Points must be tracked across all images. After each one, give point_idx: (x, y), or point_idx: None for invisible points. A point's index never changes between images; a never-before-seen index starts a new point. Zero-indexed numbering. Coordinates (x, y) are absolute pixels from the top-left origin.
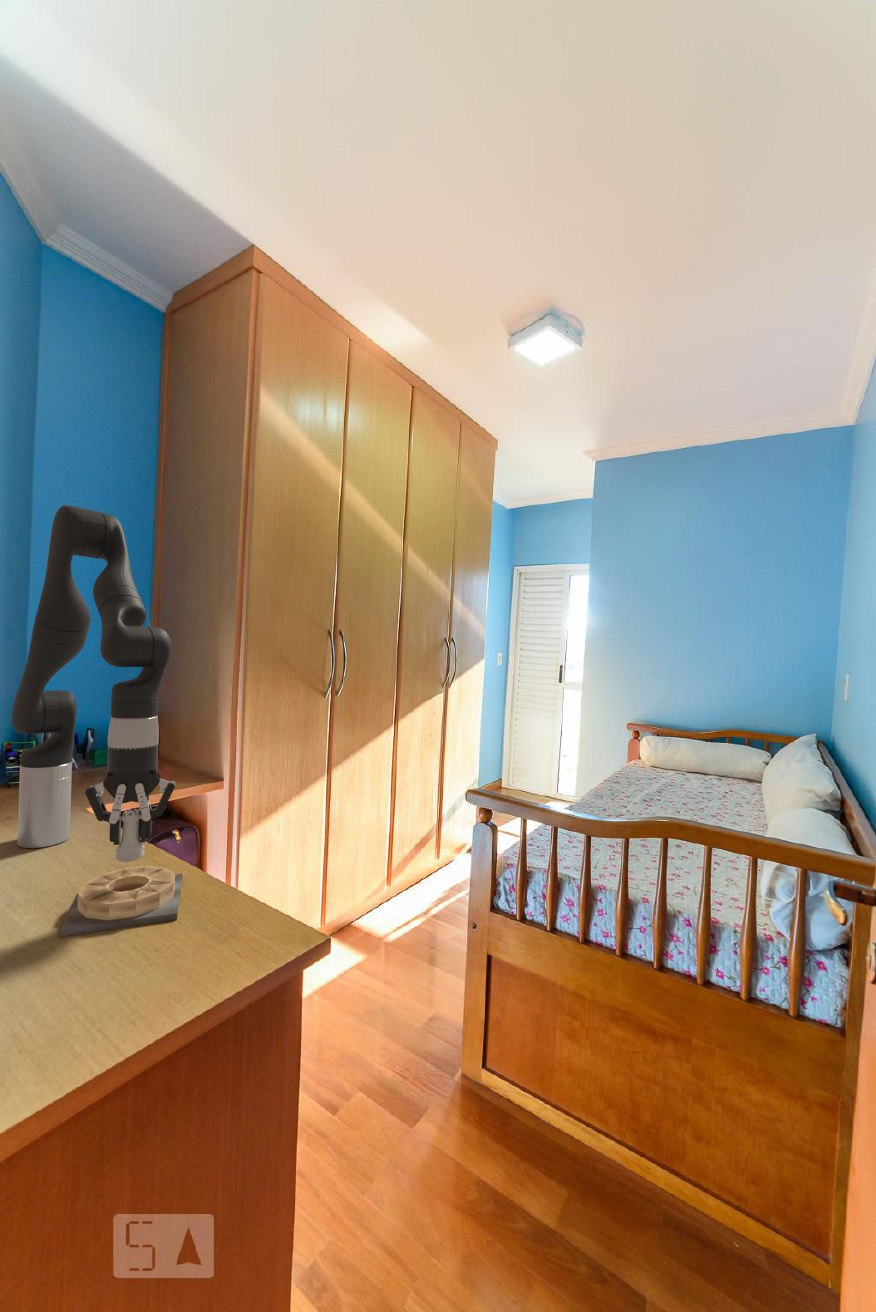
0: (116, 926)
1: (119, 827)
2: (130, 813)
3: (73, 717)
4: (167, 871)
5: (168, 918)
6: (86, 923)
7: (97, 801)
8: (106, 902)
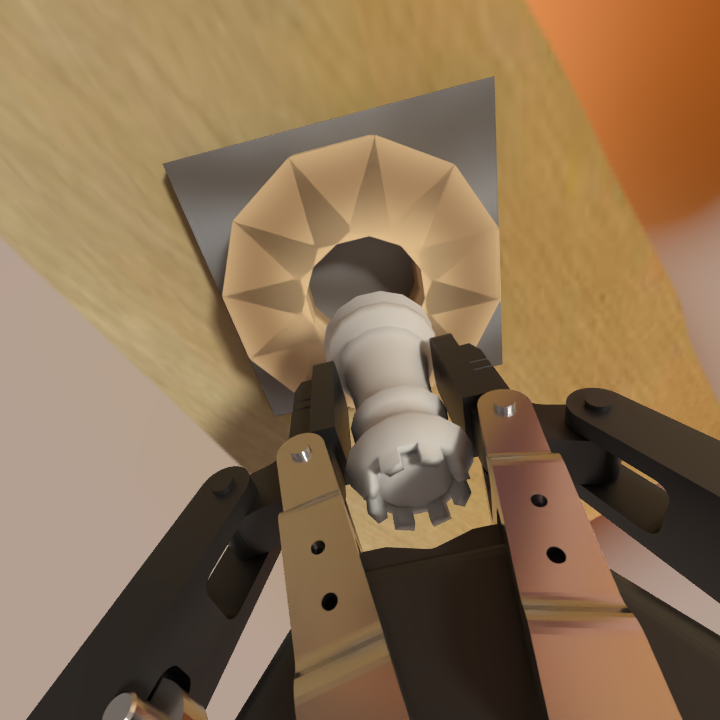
0: None
1: (346, 445)
2: (413, 496)
3: None
4: (470, 204)
5: None
6: None
7: (214, 685)
8: (351, 402)
